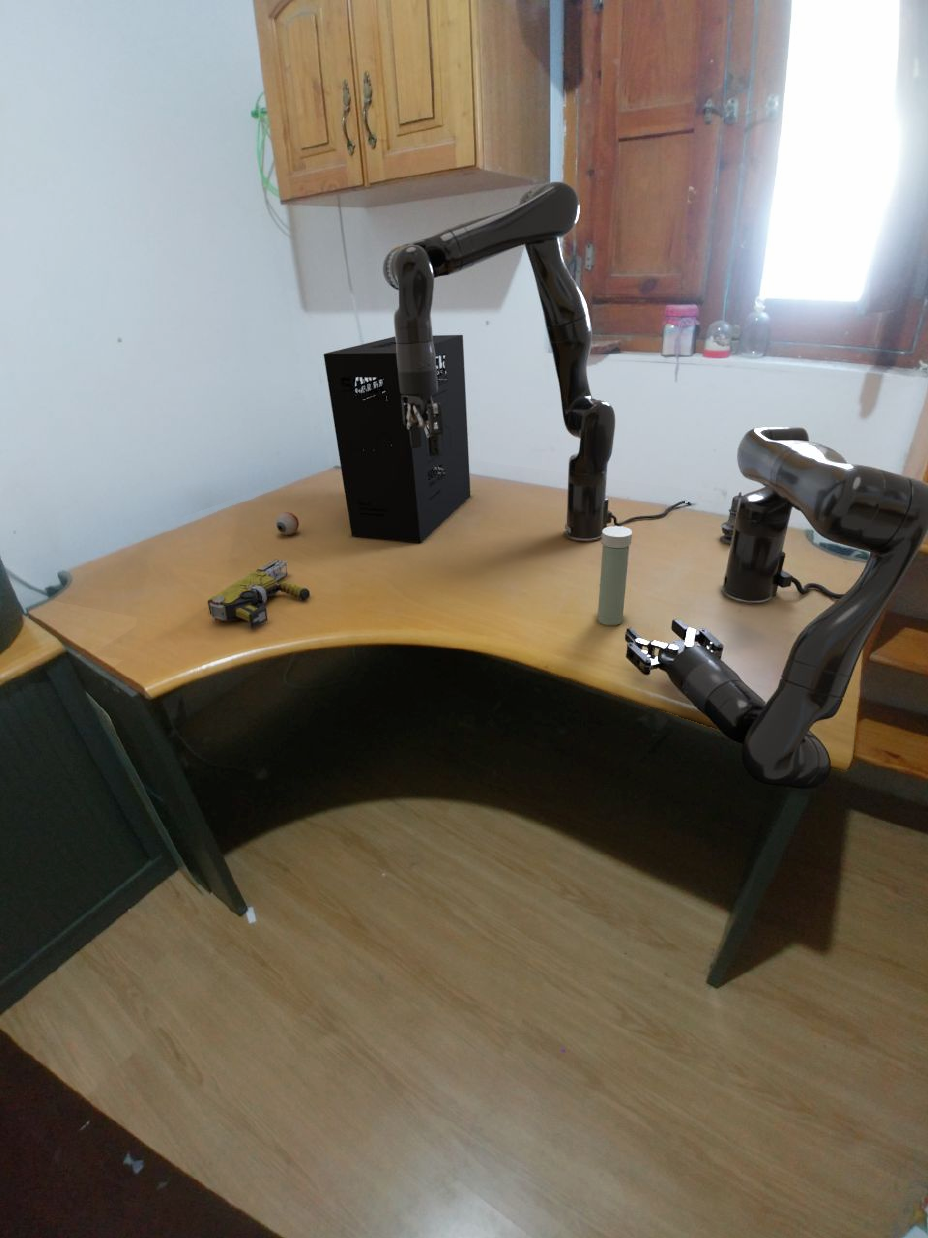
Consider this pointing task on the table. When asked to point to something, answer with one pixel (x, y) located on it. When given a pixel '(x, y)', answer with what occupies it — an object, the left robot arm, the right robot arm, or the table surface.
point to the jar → (612, 585)
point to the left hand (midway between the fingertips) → (424, 451)
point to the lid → (616, 537)
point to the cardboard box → (397, 442)
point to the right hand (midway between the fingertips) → (650, 628)
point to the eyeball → (287, 523)
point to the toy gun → (253, 595)
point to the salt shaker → (730, 521)
